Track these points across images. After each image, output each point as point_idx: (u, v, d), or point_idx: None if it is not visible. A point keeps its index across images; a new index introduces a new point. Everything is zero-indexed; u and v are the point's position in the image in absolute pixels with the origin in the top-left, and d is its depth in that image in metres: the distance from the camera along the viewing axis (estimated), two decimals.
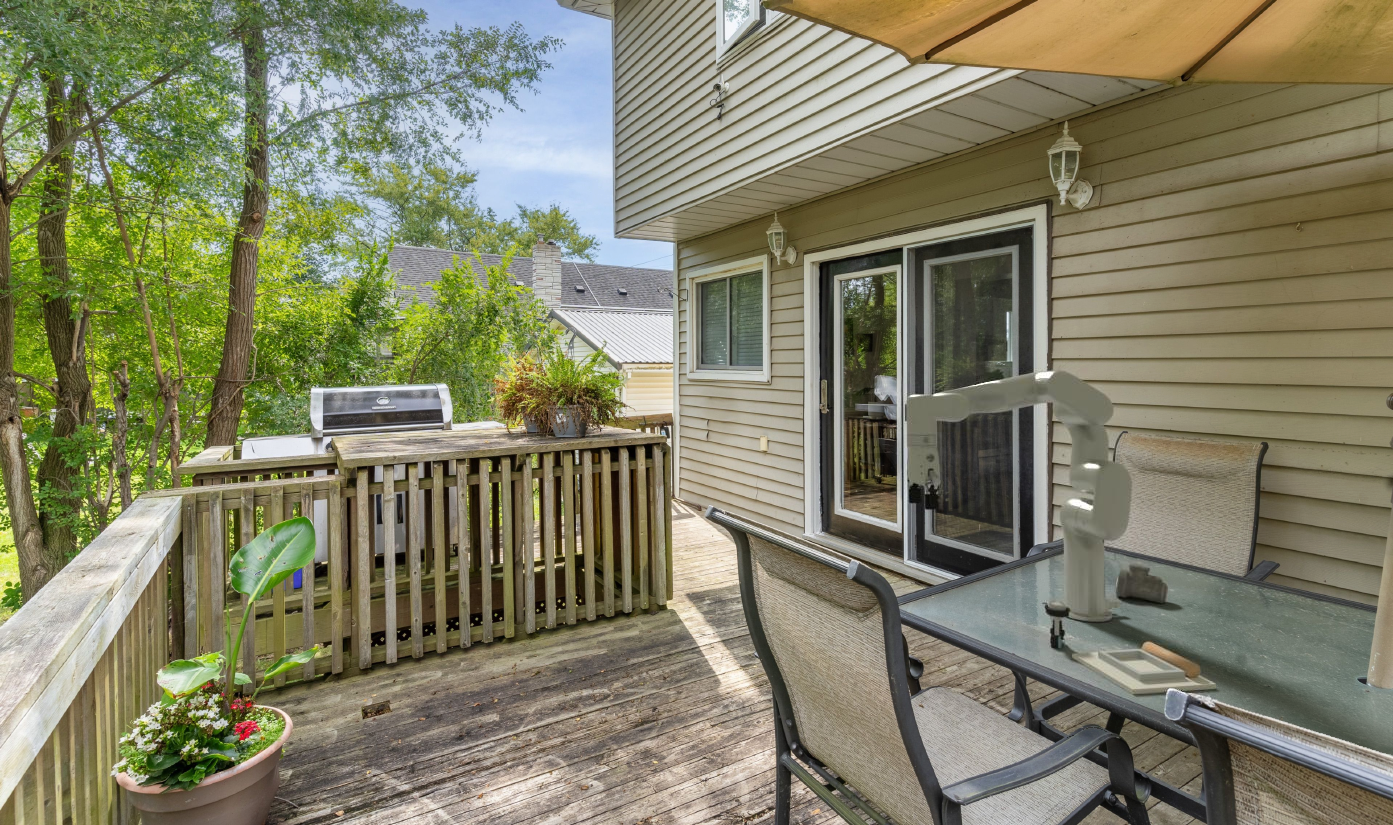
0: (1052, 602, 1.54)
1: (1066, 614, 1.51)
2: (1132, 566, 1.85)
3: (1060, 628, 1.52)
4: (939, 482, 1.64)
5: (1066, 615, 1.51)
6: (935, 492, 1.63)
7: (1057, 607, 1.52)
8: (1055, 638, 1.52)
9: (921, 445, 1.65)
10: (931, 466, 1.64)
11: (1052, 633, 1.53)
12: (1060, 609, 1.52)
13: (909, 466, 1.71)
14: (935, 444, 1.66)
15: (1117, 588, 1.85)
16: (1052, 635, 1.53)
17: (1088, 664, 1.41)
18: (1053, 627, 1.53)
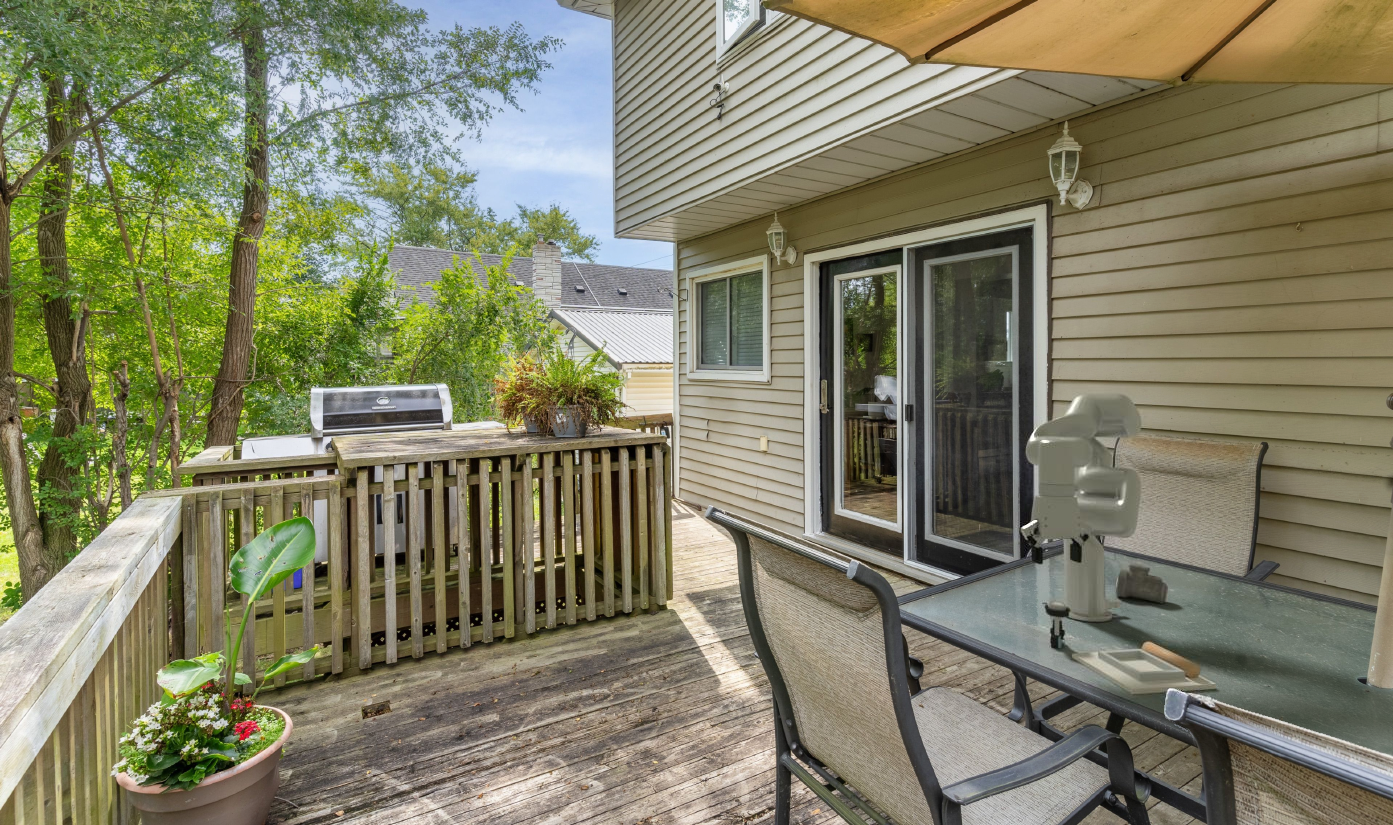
0: (1052, 602, 1.54)
1: (1066, 614, 1.51)
2: (1132, 566, 1.85)
3: (1060, 628, 1.52)
4: None
5: (1066, 615, 1.51)
6: None
7: (1057, 607, 1.52)
8: (1055, 637, 1.52)
9: (1074, 494, 1.52)
10: None
11: (1052, 633, 1.53)
12: (1060, 609, 1.52)
13: (1051, 521, 1.51)
14: None
15: (1117, 588, 1.85)
16: (1052, 635, 1.53)
17: (1088, 664, 1.41)
18: (1053, 627, 1.53)
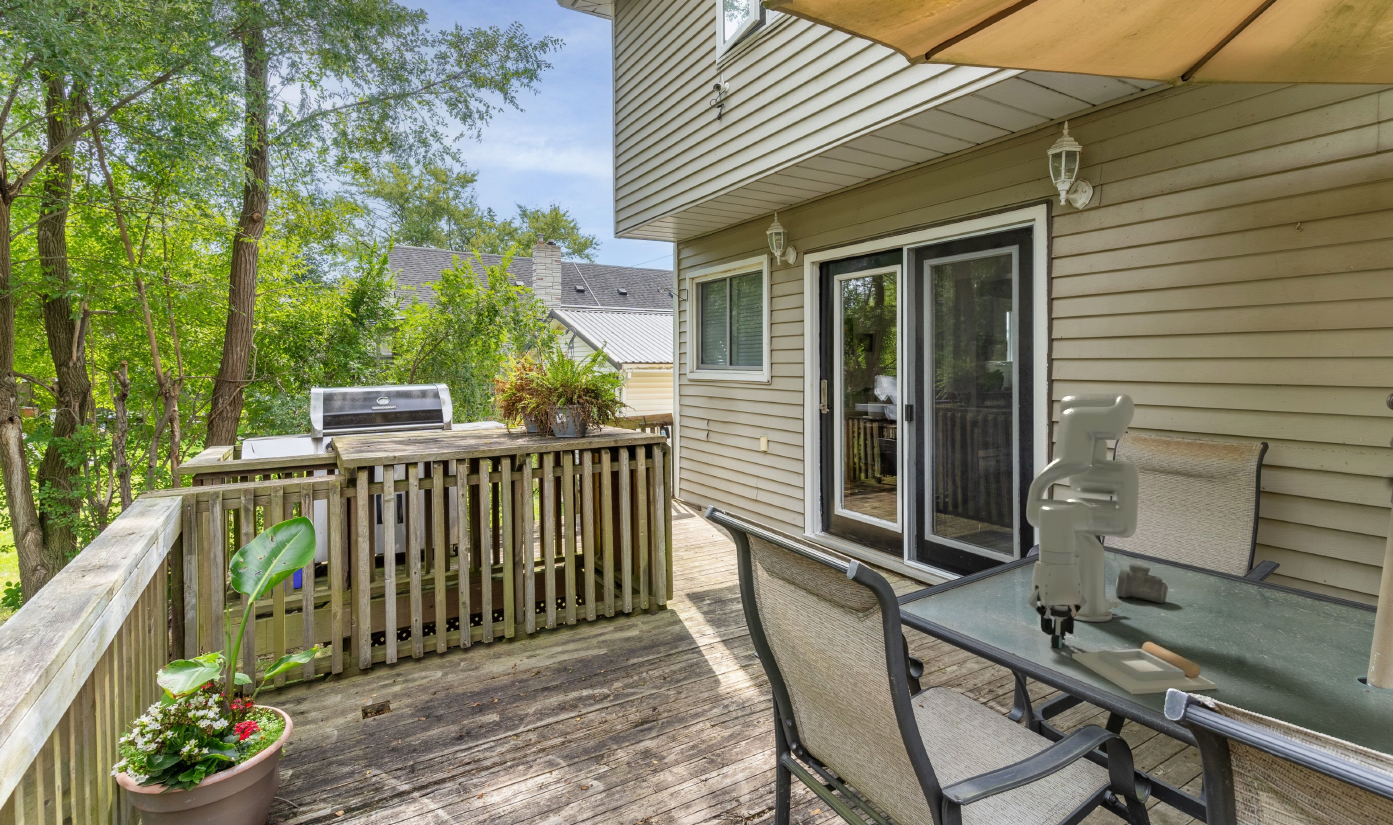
0: None
1: (1068, 614, 1.51)
2: (1132, 566, 1.85)
3: (1061, 628, 1.52)
4: None
5: (1068, 615, 1.51)
6: None
7: (1059, 607, 1.52)
8: (1056, 637, 1.52)
9: None
10: None
11: (1053, 633, 1.53)
12: (1062, 609, 1.51)
13: (1052, 588, 1.51)
14: None
15: (1117, 588, 1.85)
16: (1053, 635, 1.53)
17: (1088, 664, 1.41)
18: (1054, 627, 1.53)
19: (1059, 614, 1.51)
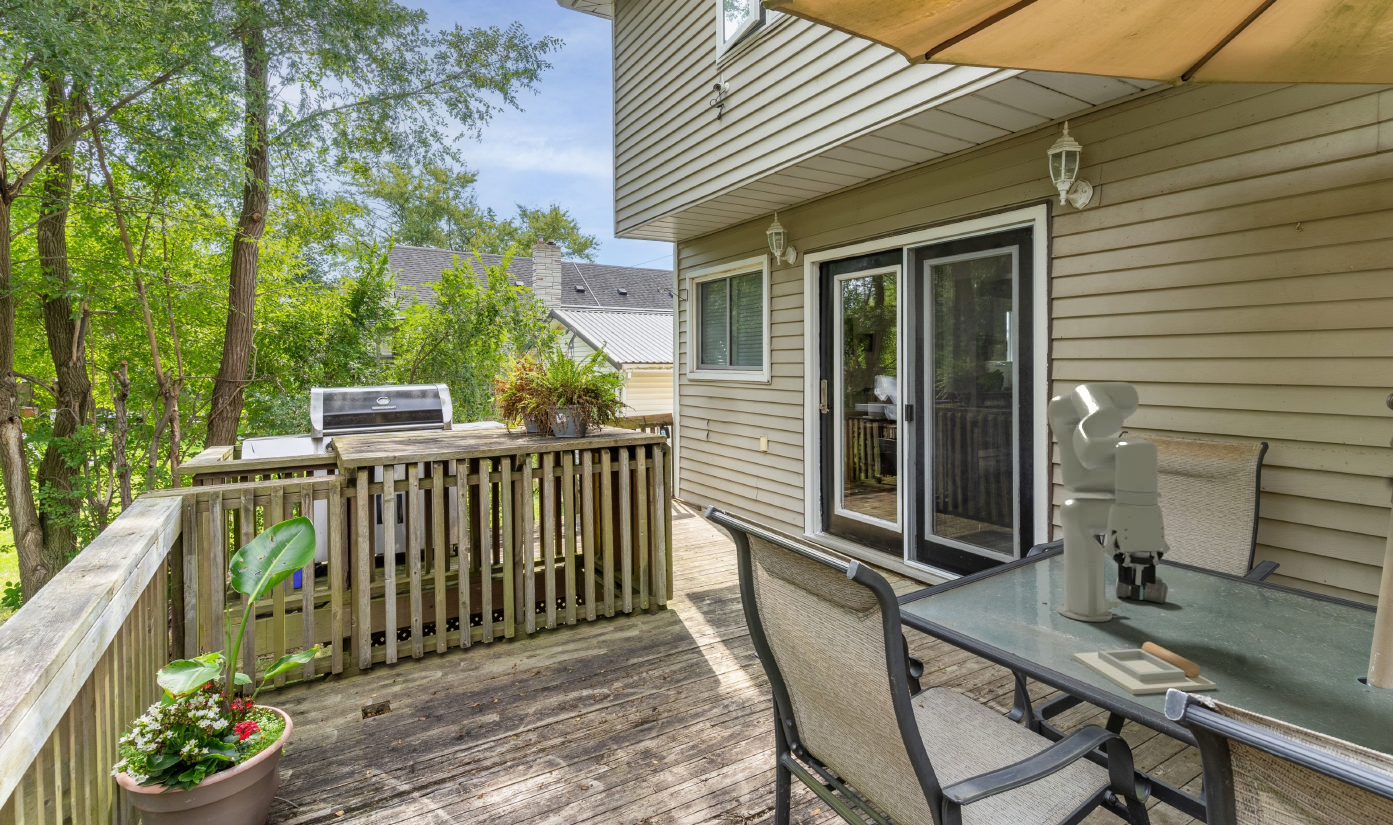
0: None
1: (1150, 562, 1.35)
2: (1132, 566, 1.85)
3: (1142, 577, 1.36)
4: None
5: (1150, 563, 1.35)
6: None
7: (1140, 554, 1.35)
8: (1136, 587, 1.35)
9: None
10: None
11: (1132, 583, 1.37)
12: (1144, 556, 1.35)
13: (1132, 532, 1.35)
14: None
15: (1117, 588, 1.85)
16: (1133, 585, 1.36)
17: (1088, 664, 1.41)
18: (1134, 576, 1.37)
19: (1140, 561, 1.35)
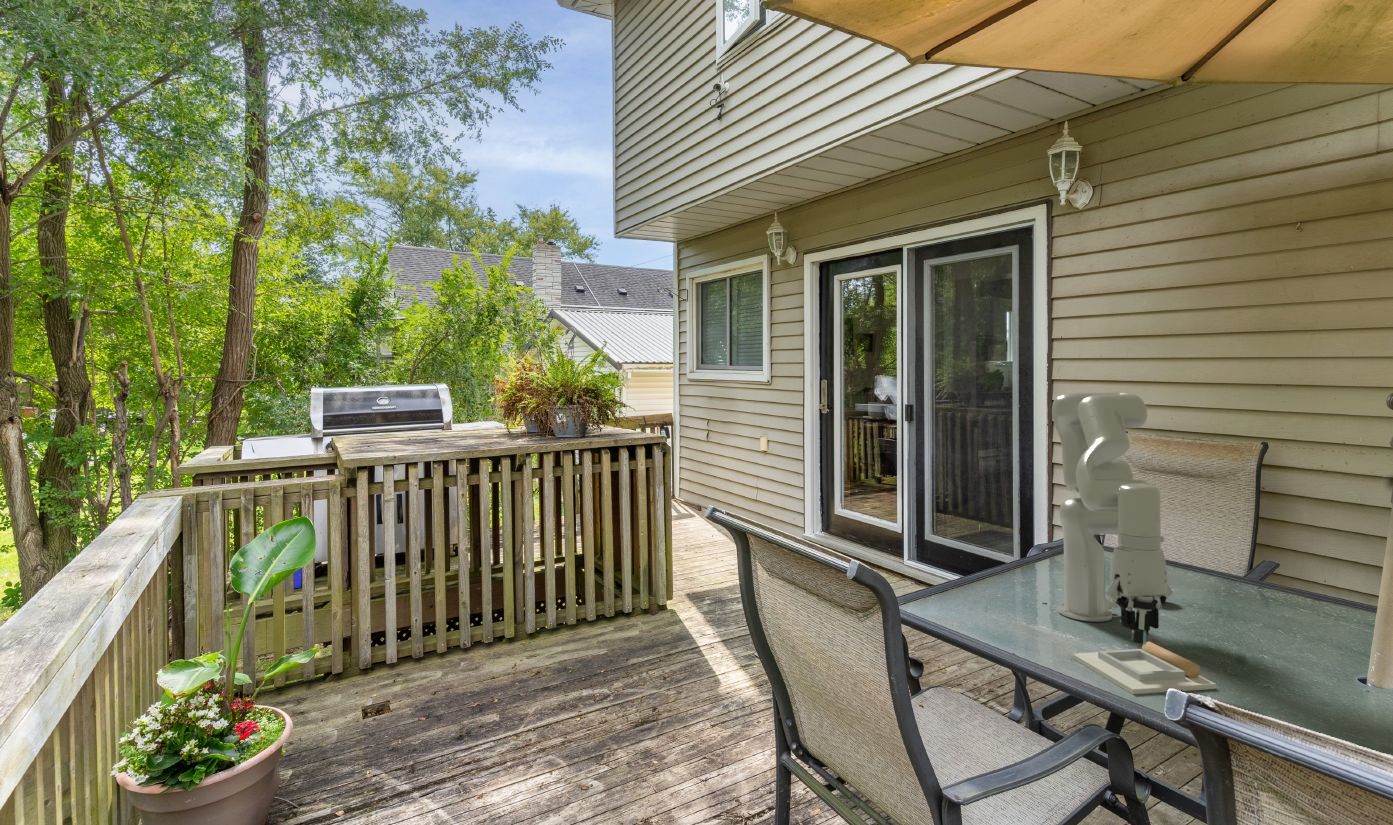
0: None
1: (1154, 606, 1.35)
2: None
3: (1145, 622, 1.36)
4: None
5: (1153, 607, 1.35)
6: None
7: (1143, 598, 1.35)
8: (1139, 632, 1.35)
9: None
10: None
11: (1135, 627, 1.37)
12: (1147, 600, 1.35)
13: (1135, 577, 1.35)
14: None
15: None
16: (1136, 629, 1.36)
17: (1088, 664, 1.41)
18: (1137, 620, 1.36)
19: (1144, 606, 1.35)
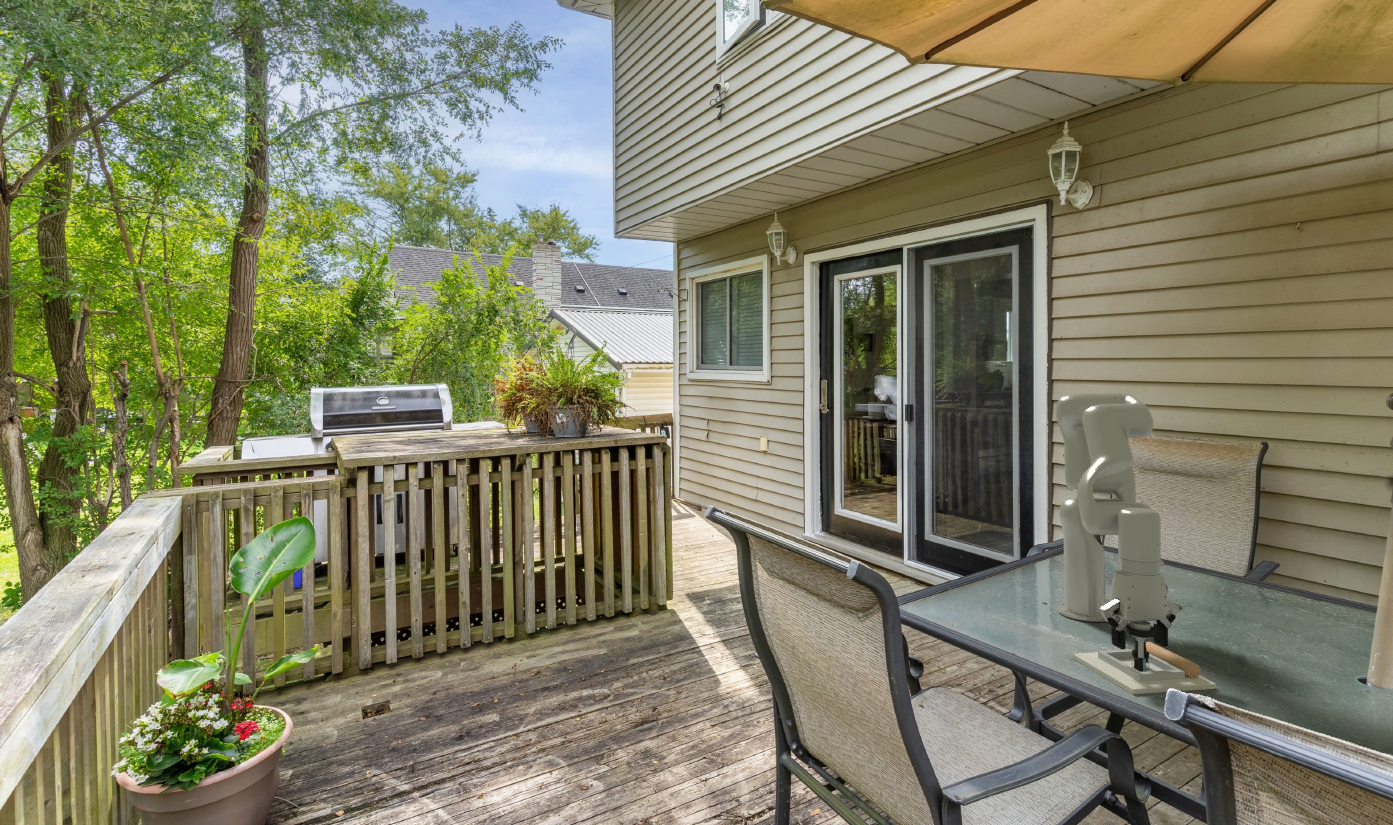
0: None
1: (1152, 634, 1.35)
2: None
3: (1144, 650, 1.36)
4: None
5: (1152, 635, 1.35)
6: None
7: (1141, 626, 1.36)
8: (1139, 661, 1.36)
9: None
10: None
11: (1135, 655, 1.37)
12: (1145, 629, 1.35)
13: (1135, 602, 1.35)
14: None
15: None
16: (1135, 658, 1.37)
17: (1088, 664, 1.41)
18: (1136, 649, 1.37)
19: (1142, 634, 1.35)
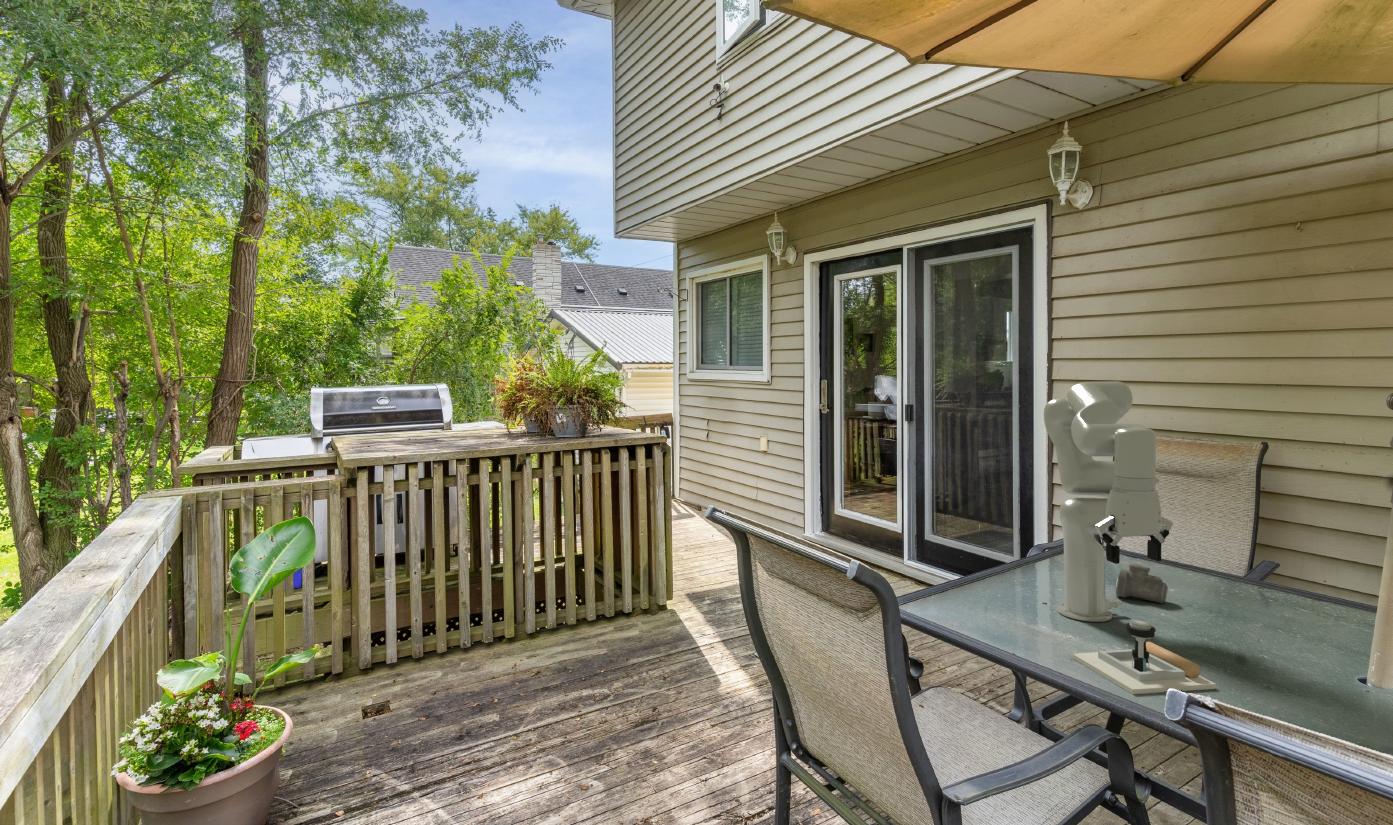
0: (1134, 620, 1.38)
1: (1152, 634, 1.35)
2: (1132, 566, 1.85)
3: (1144, 650, 1.36)
4: None
5: (1152, 635, 1.35)
6: None
7: (1141, 626, 1.36)
8: (1139, 661, 1.36)
9: None
10: None
11: (1135, 655, 1.37)
12: (1145, 629, 1.35)
13: (1130, 517, 1.38)
14: None
15: (1117, 588, 1.85)
16: (1135, 658, 1.37)
17: (1088, 664, 1.41)
18: (1136, 649, 1.37)
19: (1142, 634, 1.35)
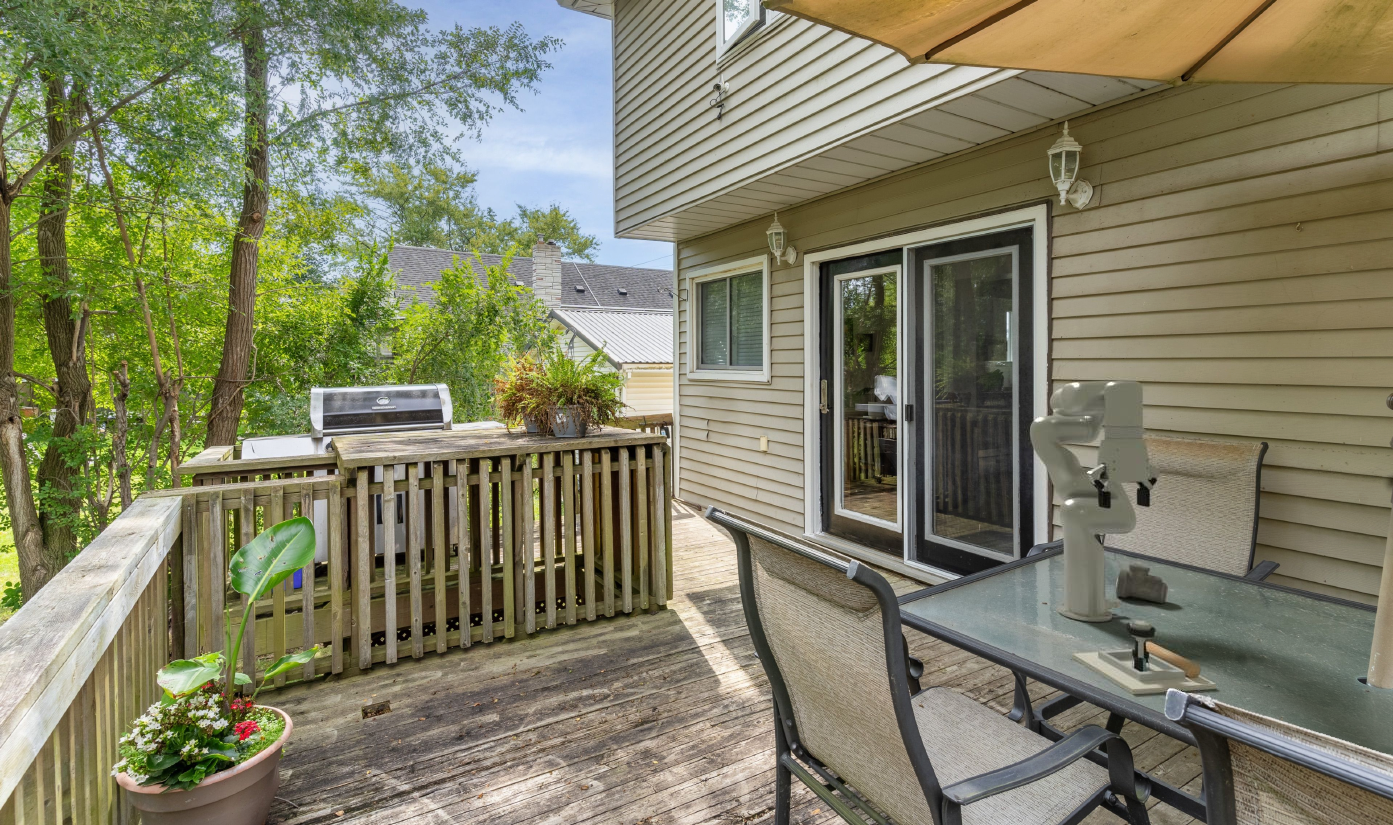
0: (1134, 620, 1.38)
1: (1152, 634, 1.35)
2: (1132, 566, 1.85)
3: (1144, 650, 1.36)
4: None
5: (1152, 635, 1.35)
6: None
7: (1141, 626, 1.36)
8: (1139, 661, 1.36)
9: None
10: None
11: (1135, 655, 1.37)
12: (1145, 629, 1.35)
13: (1120, 464, 1.48)
14: None
15: (1117, 588, 1.85)
16: (1135, 658, 1.37)
17: (1088, 664, 1.41)
18: (1136, 649, 1.37)
19: (1142, 634, 1.35)
